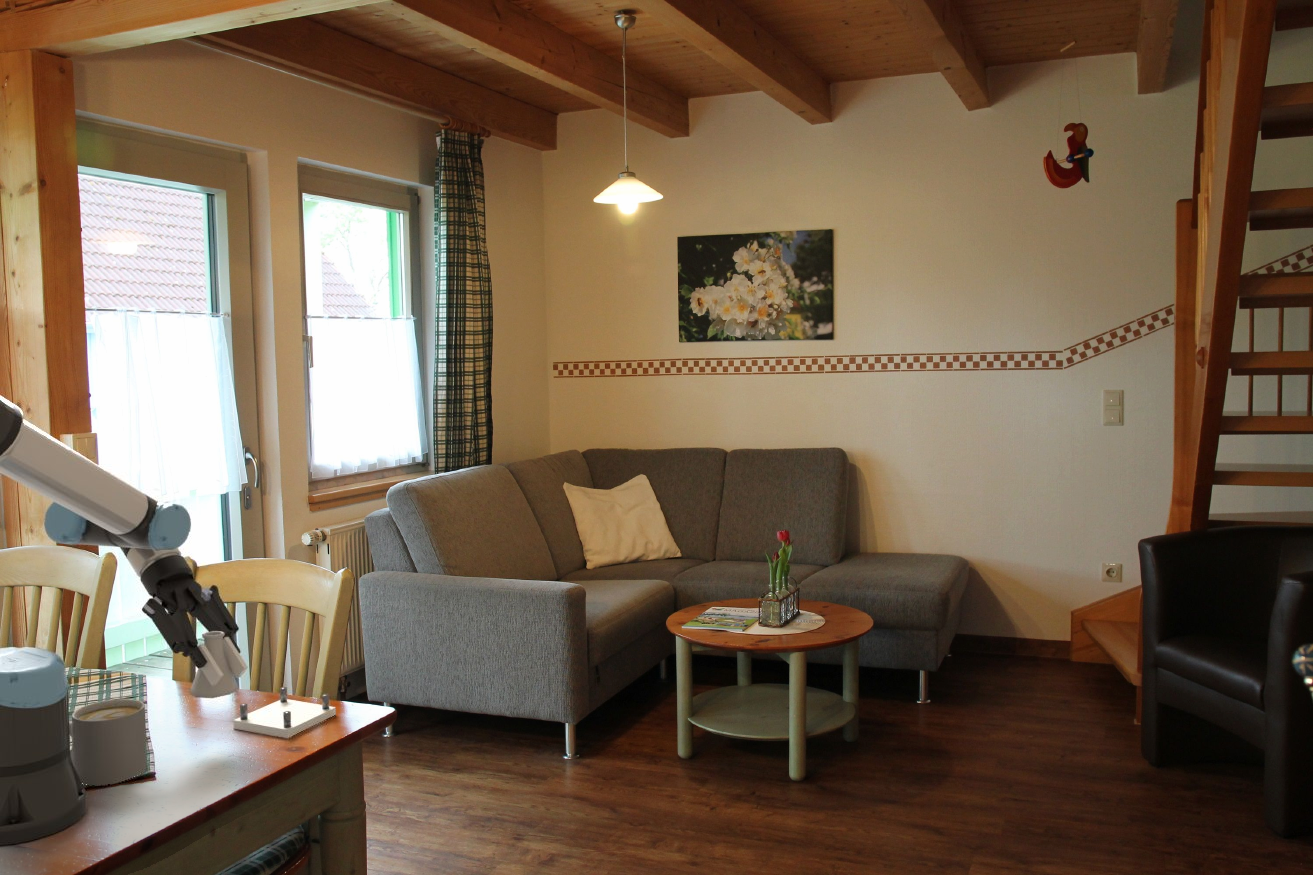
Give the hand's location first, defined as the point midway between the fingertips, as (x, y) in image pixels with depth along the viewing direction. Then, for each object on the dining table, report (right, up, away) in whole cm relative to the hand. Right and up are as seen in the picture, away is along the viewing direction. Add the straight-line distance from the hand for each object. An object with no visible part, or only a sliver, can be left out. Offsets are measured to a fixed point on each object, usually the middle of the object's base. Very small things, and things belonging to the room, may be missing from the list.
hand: (230, 676), depth 166 cm
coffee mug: (-17, -13, -8) cm, 23 cm away
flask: (-3, -3, +2) cm, 5 cm away
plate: (+4, -11, +13) cm, 18 cm away
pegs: (+4, -10, +13) cm, 17 cm away
